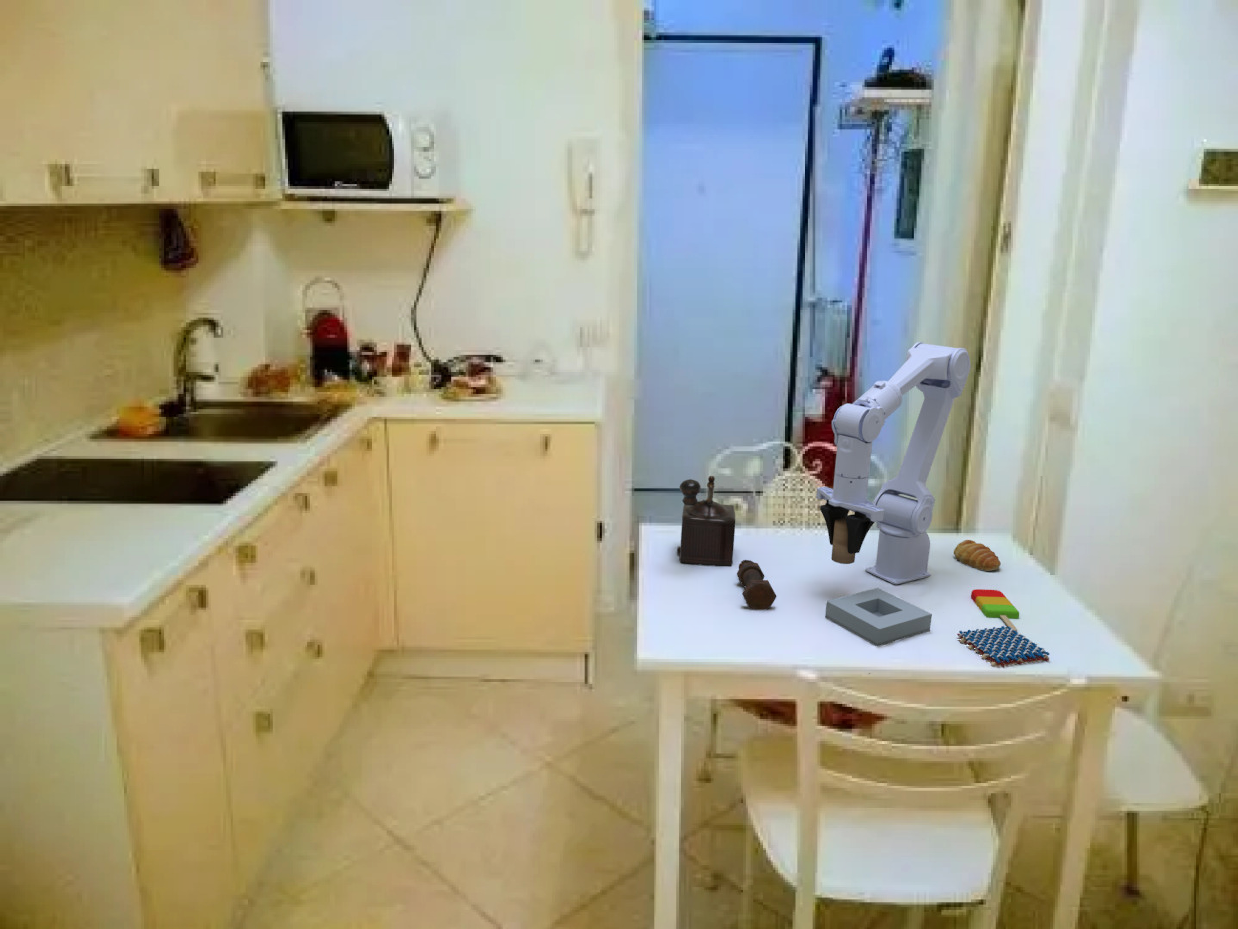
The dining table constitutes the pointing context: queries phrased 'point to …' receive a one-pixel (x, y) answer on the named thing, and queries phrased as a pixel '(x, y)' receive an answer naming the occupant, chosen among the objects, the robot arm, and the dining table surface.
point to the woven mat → (1003, 646)
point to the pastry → (976, 556)
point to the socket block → (878, 616)
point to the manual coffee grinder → (705, 527)
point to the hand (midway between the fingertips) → (844, 548)
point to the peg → (841, 543)
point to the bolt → (755, 586)
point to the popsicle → (995, 605)
